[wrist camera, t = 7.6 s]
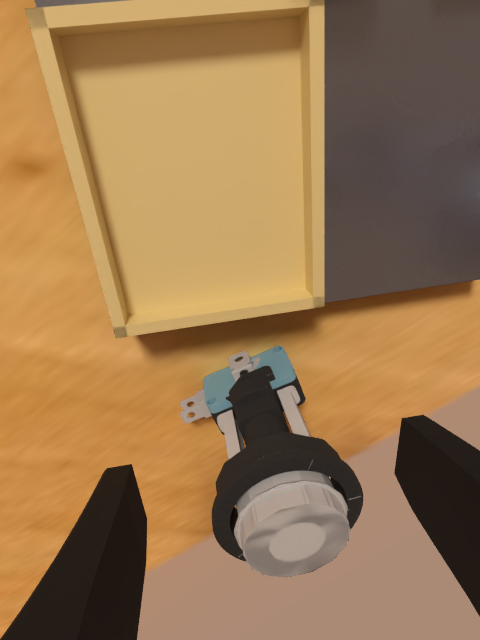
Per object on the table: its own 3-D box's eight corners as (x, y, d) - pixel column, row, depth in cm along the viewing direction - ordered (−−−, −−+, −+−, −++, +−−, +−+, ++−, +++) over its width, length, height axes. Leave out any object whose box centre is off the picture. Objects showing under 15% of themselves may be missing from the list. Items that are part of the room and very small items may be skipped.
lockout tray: (310, -1, 13) (324, -15, 12) (314, 294, 18) (324, 306, 17) (40, 21, 12) (25, 8, 11) (120, 323, 17) (115, 338, 16)
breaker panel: (592, -448, 11) (704, -605, 9) (468, 267, 20) (505, 284, 18) (-72, -465, 9) (-154, -662, 7) (126, 318, 19) (120, 344, 17)
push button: (201, 432, 23) (215, 624, 14) (159, 363, 20) (145, 542, 11) (305, 389, 22) (389, 557, 14) (276, 314, 20) (355, 457, 11)
